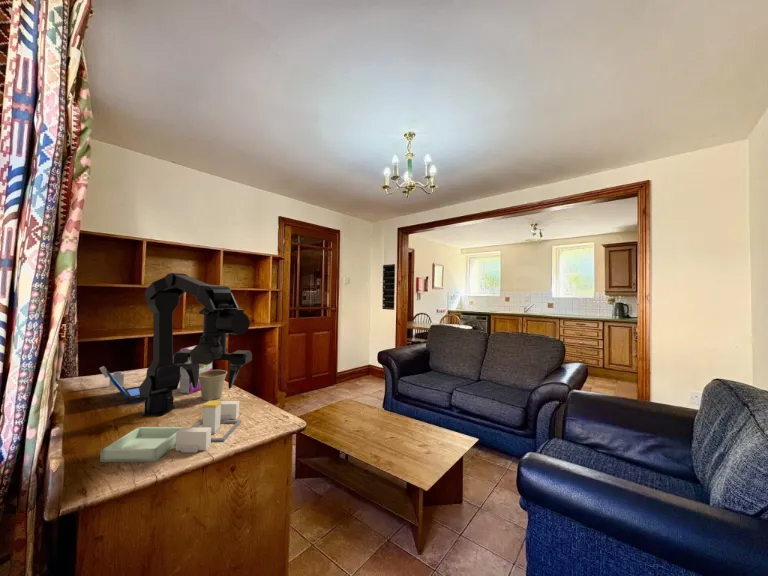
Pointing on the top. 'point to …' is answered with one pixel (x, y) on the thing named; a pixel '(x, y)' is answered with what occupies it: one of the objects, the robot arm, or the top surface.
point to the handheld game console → (127, 391)
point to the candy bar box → (185, 380)
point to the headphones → (206, 430)
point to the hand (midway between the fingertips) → (212, 388)
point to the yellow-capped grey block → (212, 415)
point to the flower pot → (212, 383)
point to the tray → (141, 445)
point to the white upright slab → (117, 376)
